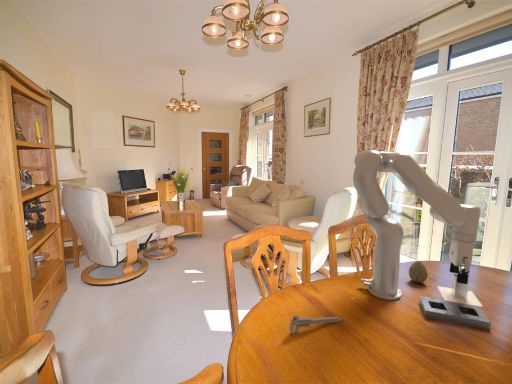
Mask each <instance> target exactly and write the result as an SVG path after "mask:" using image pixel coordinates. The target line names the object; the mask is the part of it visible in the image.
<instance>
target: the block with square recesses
mask: <svg viewBox="0 0 512 384" xmlns="http://www.w3.org/2000/svg"><path fill="white" fill-rule="evenodd" d="M419 304H420V307H421V309H422V310H421V311H422V313H423V315H424V318H428V319H432V320H438V321H442V322H447V323H448V322H449V323H451V324H453V323H454V324H458V325H463V326H468V327H473V328H480V329H482V330H483V329H484V330H488V331H491V325H492V322H491V321H490V320H489V318H488V317H487V315H486V314H485V313H484V311H483V310H482V307H479V306H474V305H469V304H463V303H457V302H451V301H445V300H444V299H440V298H439V299H438V298H432V297H427V296H422V295H420V297H419Z"/></svg>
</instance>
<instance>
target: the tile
mask: <svg viewBox="0 0 512 384" xmlns="http://www.w3.org/2000/svg"><path fill="white" fill-rule="evenodd" d="M436 289H438V291H439V293H440V295H441V297H442V298H443V299H442V300H445V301H451V302H457V303H463V304H469V305H474V306H479V307H480V308H484V306H483V305H482V303H481V301H479V299H478V298H477V296H476V295H475V293H474V292H473V291H472V290H468V292H467V299H462V298H456V297H454V296H453V294H452V293H451V291H452V287H447V286H439V285H438V286H436Z"/></svg>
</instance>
